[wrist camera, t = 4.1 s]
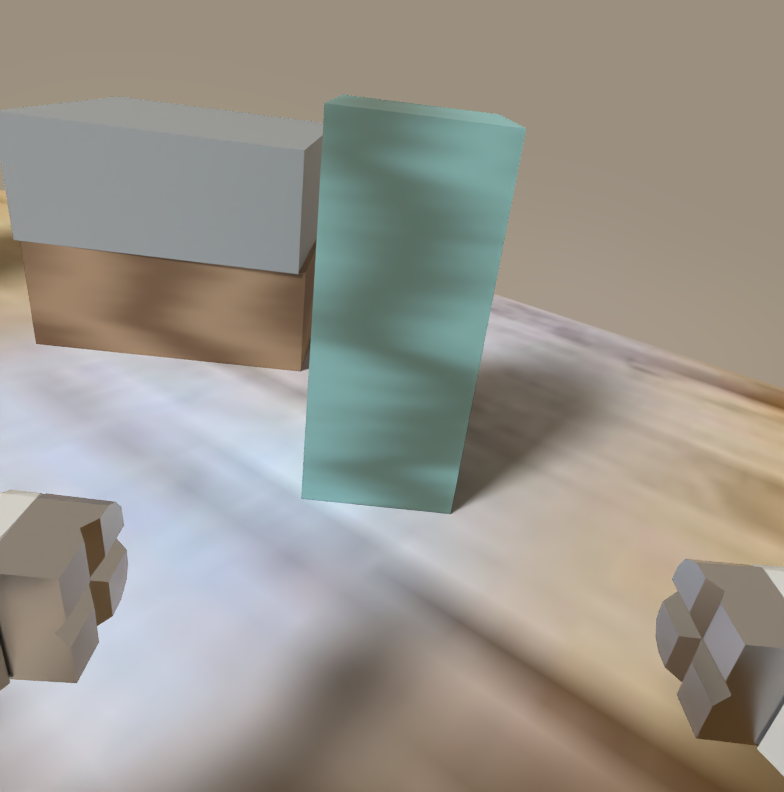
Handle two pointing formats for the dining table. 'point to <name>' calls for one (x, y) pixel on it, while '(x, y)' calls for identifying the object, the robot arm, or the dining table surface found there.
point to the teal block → (402, 296)
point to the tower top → (164, 181)
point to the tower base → (169, 306)
